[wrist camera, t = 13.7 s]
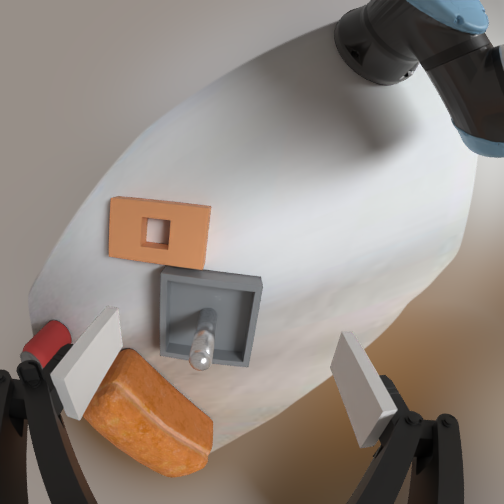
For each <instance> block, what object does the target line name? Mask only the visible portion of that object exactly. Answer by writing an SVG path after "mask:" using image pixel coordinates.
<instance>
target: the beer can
mask: <svg viewBox="0 0 504 504" xmlns="http://www.w3.org/2000/svg"><path fill="white" fill-rule="evenodd" d="M68 343H70V344H71V335H70V333H69V331H68V329H67V328H66V327H65V326H64V325H63V324H62V323H60V322H58V321H54V320H52V321H49V322H48V323H47V324H46V325H45V326H44V327H43V328H42V329H41V330H40V331H39V332H38V333H37V334H36V335H35V336H34V337H33V338H32V339H31V340H30V341H29V342H28V343H27V344H26V345H25V346H24V348H23V352H22V353H21V355H20V358H21V361H22V362H23V361H26V360H35V361H37V362H38V363H40V365H41V368H42V369H43V368H44V367H45V365H46V364H47V363H48V362H49V361H50V359H52V357H53V356H54V355H55V354H56V352H57V351H58V350H59V349H60V348H61V347H62V346H64V345H66V344H68Z"/></svg>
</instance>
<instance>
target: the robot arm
mask: <svg viewBox="0 0 504 504" xmlns="http://www.w3.org/2000/svg"><path fill="white" fill-rule="evenodd" d="M488 24H489V22H488V17H487V15H486V14H485V9H484V7H483V6H482V4H481V2H480V1H479V0H371V1H370V2H369V3H368V4H367V5H364V6H362V7H359V8H356V9H353V10H350V11H349V12H347V13H346V14H345V15H344V16H343V17H342V18H341V19H340V20H339V22H338V23H337V25H336V28H335V35H334V36H335V43H336V46H337V49H338V51H339V53H340V55H341V56H342V58H343V59H344V61H345V62H346V63H347V64H348V65H349V66H350V67H351V68H352V69H353V70H354V71H355V72H356V73H358V74H359V75H361V76H362V77H364V78H365V79H367V80H370V81H372V82H375V83H378V84H383V85H393V84H397V83H399V82H402V81H404V80H406V79H407V78H409V77H410V76H411V75H412V74H413V73H414V71H415V69H416V68H417V66H418V65H419V63H420V64H421V65H422V67H423V68H424V70H425V72H426V73H427V75H428V76H429V78H430V80H431V81H432V83H433V85H434V86H435V88H436V90H437V92H438V93H439V95H440V97H441V99H442V101H443V102H444V104H445V106H446V108H447V110H448V112H449V114H450V116H451V120H452V123H453V125H454V126H455V128H456V129H457V130H458V132H459V134H460V136H461V138H462V140H463V142H464V144H465V145H466V146H467V147H468V148H469V149H470V150H471V151H473V152H474V153H477V154H479V155H482V156H486V157H496V158H497V157H498V158H501V157H504V45H500V46H497V47H493V45H492V44H491V42H490V41H489V39H488V37H487V36H486V34H485V32H486V29H487V27H488ZM122 346H123V344H122V337H121V328H120V319H119V309H118V308H115V307H110V306H107V307H106V308H105V309H104V310H103V311H102V312H101V313H100V315H99V316H98V317H97V318H96V319H95V320H94V322H93V323H92V324H91V325H90V326H89V327H88V328H87V330H86V331H85V332H84V333H83V334H82V336H81V337H80V338H79V339H78V340H77V342H76V343H75V344H74V345H73V344H70V343H68V344H66V345H64V346H62V347H61V348H60V349H59V350H58V351H57V352H56V354H55V355H54V356H53V357H52V359H50V361H49V362H48V363H47V364H46V365H45V367H44V368H43V369H42V368H41V365H40V363H38V362H37V361H35V360H26V361H23V362H22V363H20V364H19V365H18V367H17V373H18V376H19V378H20V380H17V379H12V378H11V376H10V374H9V372H7V371H6V370H0V504H28V493H27V473H26V450H27V428H28V427H27V426H28V425H29V430H30V435H31V439H32V444H33V448H34V452H35V455H36V459H37V462H38V466H39V469H40V473H41V476H42V479H43V482H44V485H45V487H46V491H47V493H48V496H49V498H50V501H51V504H97V501H96V499H95V498H94V496H93V494H92V492H91V490H90V488H89V485H88V483H87V481H86V479H85V477H84V475H83V472H82V470H81V468H80V465H79V463H78V461H77V458H76V456H75V453H74V451H73V448H72V445H71V443H70V440H69V437H68V434H67V431H66V428H65V425H64V422H63V419H62V416H61V414H60V413H61V411H62V410H63V408H64V410H65V412H66V415H67V416H69V417H72V418H74V419H77V420H80V419H81V417H82V416H83V414H84V412H85V410H86V408H87V407H88V405H89V403H90V401H91V399H92V398H93V396H94V394H95V392H96V390H97V389H98V387H99V385H100V383H101V382H102V380H103V378H104V377H105V375H106V373H107V371H108V370H109V368H110V366H111V365H112V363H113V361H114V360H115V358H116V356H117V355H118V353H119V351H120V350H121V348H122ZM330 368H331V371H332V373H333V376H334V378H335V381H336V384H337V386H338V389H339V392H340V394H341V397H342V400H343V402H344V405H345V408H346V410H347V413H348V416H349V419H350V421H351V424H352V427H353V430H354V432H355V435H356V438H357V440H358V443H359V446H360V448H365V447H371V446H374V445H375V444H376V442H377V441H378V439H379V440H380V442H381V446H380V447H379V448H378V450H377V451H376V453H375V454H374V455H373V457H374V458H373V460H372V462H371V464H370V466H369V467H368V469H367V471H366V473H365V474H364V476H363V478H362V480H361V481H360V483H359V485H358V486H357V488H356V489H355V491H354V493H353V494H352V496H351V497H350V499H349V500H348V502H347V503H346V504H394V502H395V500H396V497H397V495H398V493H399V491H400V489H401V486H402V484H403V482H404V479H405V477H406V474H407V472H408V470H409V467H410V464H411V462H412V472H411V481H410V490H409V497H408V504H464V479H463V460H462V449H461V440H460V432H459V425H458V422H457V420H456V418H455V417H453V416H452V415H450V414H441V415H439V417H438V418H437V419H436V421H433V420H423V418H422V417H421V415H420V414H418V413H416V412H413V411H409V409H408V407H407V406H406V404H405V402H404V400H403V399H402V397H401V395H400V394H399V392H398V390H397V389H396V387H395V385H394V384H393V382H392V380H390V379H389V378H388V377H387V376H386V375H380V376H379V375H378V373H377V372H376V370H375V368H374V366H373V365H372V363H371V361H370V359H369V358H368V356H367V354H366V353H365V351H364V349H363V347H362V346H361V344H360V342H359V341H358V339H357V337H356V336H355V334H354V332H341V335H340V339H339V342H338V345H337V348H336V351H335V354H334V357H333V360H332V363H331V366H330Z"/></svg>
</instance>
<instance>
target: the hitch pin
mask: <svg viewBox="0 0 504 504" xmlns="http://www.w3.org/2000/svg"><path fill="white" fill-rule="evenodd" d="M217 318H218V315H217V312H216V311H215V310H214V309H212V308H204V309H202V310H201V311H200V314H199V318H198V322H197V326H196V330H195V334H194V338H193V342H192V346H191V351H190V355H189V363H190V365H191V366H192V367H193V368H194V369H195V370H198V371H204V370H206V369H208V368H209V367H210V366H211V364H212V359H213V350H214V342H215V334H216V326H217Z"/></svg>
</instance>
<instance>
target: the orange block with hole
mask: <svg viewBox="0 0 504 504" xmlns="http://www.w3.org/2000/svg"><path fill="white" fill-rule="evenodd" d="M210 212H211V206H206V205H197V204H189V203H180V202H171V201H162V200H152V199H142V198H132V197H121V196H118V197H113V198H111V203H110V222H109V257H116V258H122V259H129V260H135V261H142V262H149V263H156V264H163V265H170V266H177V267H184V268H192V269H199V270H203V267H204V264H205V256H206V247H207V238H208V229H209V221H210ZM148 218H155V219H164V220H171V222H170V234H169V245H168V244H161V243H153V242H146V236H147V221H148Z"/></svg>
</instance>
